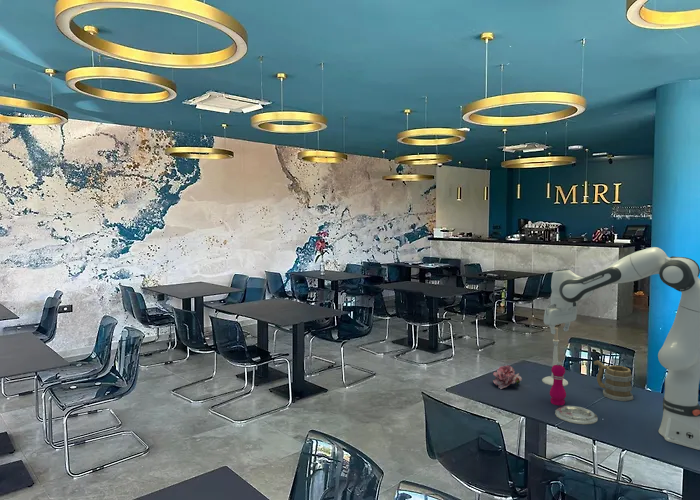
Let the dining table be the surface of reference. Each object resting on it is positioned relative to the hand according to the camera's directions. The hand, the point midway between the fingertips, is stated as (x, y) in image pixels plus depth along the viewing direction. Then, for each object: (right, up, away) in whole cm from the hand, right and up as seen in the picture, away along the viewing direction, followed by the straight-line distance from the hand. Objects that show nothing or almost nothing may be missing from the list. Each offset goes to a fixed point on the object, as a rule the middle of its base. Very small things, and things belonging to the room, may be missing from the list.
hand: (559, 332), depth 228 cm
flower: (-16, -33, +26) cm, 45 cm away
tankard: (+32, -33, +14) cm, 48 cm away
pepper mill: (0, -34, +2) cm, 34 cm away
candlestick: (+11, -32, +32) cm, 46 cm away
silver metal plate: (+2, -35, -13) cm, 37 cm away
